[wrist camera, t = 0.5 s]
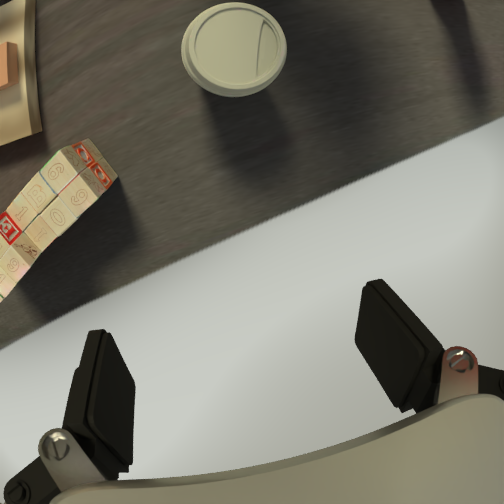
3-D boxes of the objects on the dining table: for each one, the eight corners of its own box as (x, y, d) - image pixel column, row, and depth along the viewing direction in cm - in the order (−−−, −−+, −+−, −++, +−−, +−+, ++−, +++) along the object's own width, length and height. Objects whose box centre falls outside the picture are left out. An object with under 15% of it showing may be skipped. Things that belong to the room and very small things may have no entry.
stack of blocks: (89, 135, 31) (47, 154, 20) (119, 175, 34) (92, 211, 23) (-8, 239, 33) (-51, 286, 22) (19, 270, 36) (-17, 324, 25)
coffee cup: (228, 112, 33) (248, 118, 23) (167, 71, 30) (157, 57, 19) (273, 57, 31) (313, 41, 21) (214, 15, 27) (229, -22, 17)
